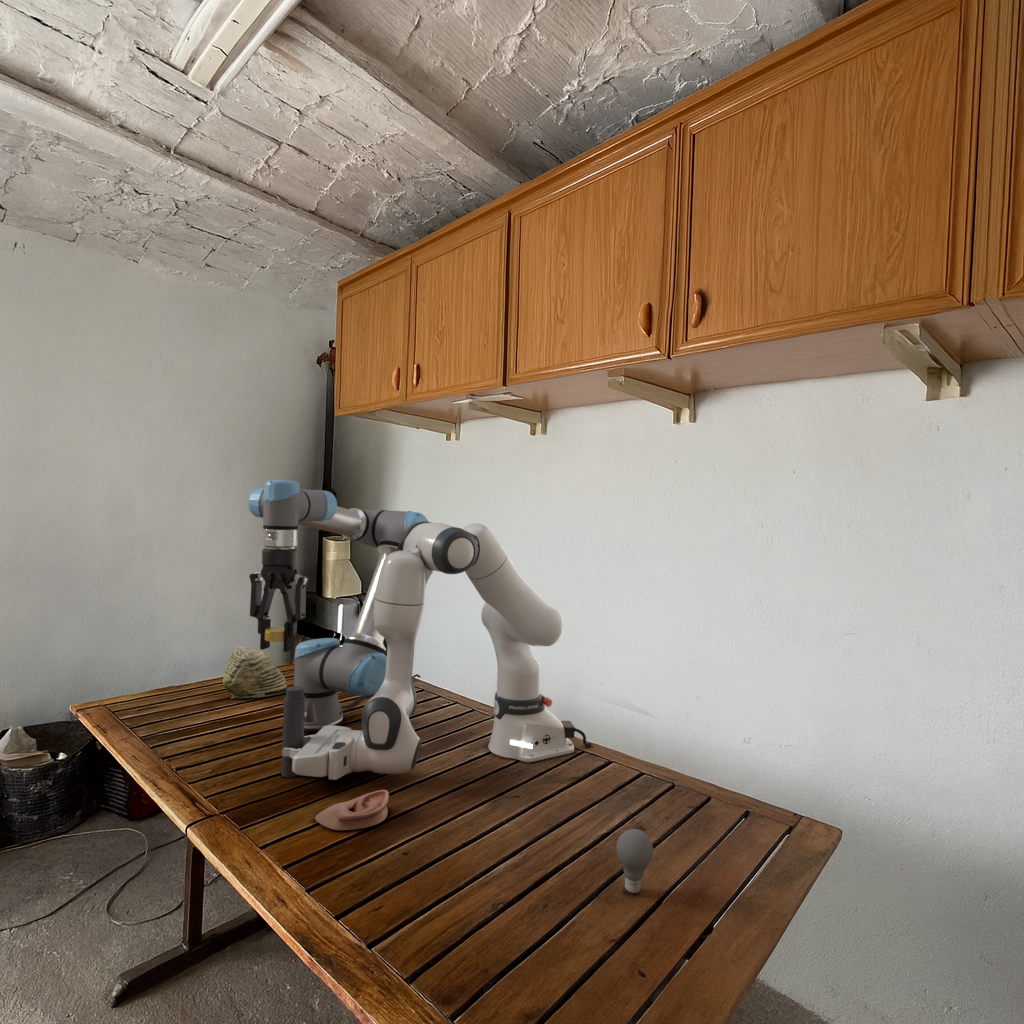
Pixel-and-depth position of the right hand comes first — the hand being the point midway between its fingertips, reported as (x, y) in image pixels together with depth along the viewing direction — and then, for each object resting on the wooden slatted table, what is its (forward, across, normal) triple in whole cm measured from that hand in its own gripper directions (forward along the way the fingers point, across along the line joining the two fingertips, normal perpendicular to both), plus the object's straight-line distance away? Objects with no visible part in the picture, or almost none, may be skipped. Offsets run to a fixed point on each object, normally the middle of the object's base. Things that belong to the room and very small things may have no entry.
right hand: (288, 746), depth 144 cm
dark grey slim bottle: (-1, 0, +6) cm, 6 cm away
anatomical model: (-20, +17, +6) cm, 28 cm away
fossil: (+33, -52, +6) cm, 62 cm away
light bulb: (-74, +34, +6) cm, 81 cm away
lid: (+4, 0, -26) cm, 26 cm away
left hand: (+4, -1, -22) cm, 22 cm away
